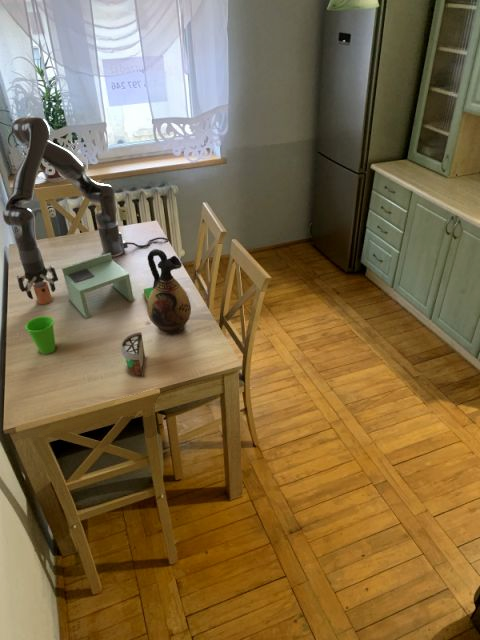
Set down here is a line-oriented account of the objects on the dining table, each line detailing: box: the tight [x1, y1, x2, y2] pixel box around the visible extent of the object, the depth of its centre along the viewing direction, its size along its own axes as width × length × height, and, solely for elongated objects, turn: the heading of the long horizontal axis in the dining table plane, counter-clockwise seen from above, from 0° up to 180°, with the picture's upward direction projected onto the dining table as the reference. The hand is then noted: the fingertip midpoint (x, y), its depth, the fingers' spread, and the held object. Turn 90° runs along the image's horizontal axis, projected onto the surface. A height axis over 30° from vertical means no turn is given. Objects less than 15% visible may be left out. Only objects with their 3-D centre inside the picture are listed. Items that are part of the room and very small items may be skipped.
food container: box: [120, 331, 146, 377], centre depth 149 cm, size 12×6×10 cm, turn 5°
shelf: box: [61, 253, 135, 319], centre depth 182 cm, size 20×16×15 cm
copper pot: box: [32, 280, 53, 305], centre depth 185 cm, size 5×8×8 cm
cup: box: [24, 315, 56, 355], centre depth 158 cm, size 9×9×11 cm
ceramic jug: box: [146, 248, 192, 336], centre depth 162 cm, size 17×15×30 cm
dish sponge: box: [143, 286, 153, 302], centre depth 185 cm, size 7×14×2 cm, turn 22°
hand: (42, 294), depth 186 cm, fingers open, 8 cm apart
